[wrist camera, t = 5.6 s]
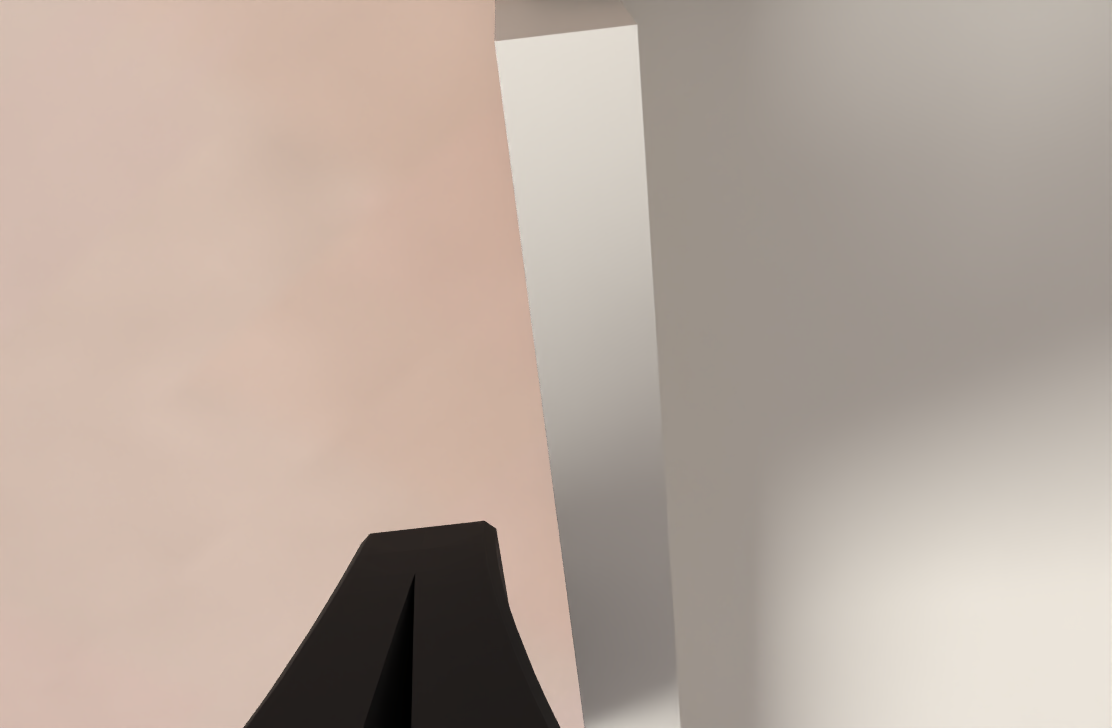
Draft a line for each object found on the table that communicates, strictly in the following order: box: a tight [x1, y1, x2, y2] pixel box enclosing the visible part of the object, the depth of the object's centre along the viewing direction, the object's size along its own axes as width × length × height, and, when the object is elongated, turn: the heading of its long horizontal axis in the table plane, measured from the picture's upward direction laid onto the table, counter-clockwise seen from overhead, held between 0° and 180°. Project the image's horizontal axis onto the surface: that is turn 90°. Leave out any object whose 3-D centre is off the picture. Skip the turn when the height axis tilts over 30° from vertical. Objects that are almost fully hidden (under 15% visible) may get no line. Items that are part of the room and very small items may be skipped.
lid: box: [494, 0, 1112, 728], centre depth 11 cm, size 12×11×3 cm
